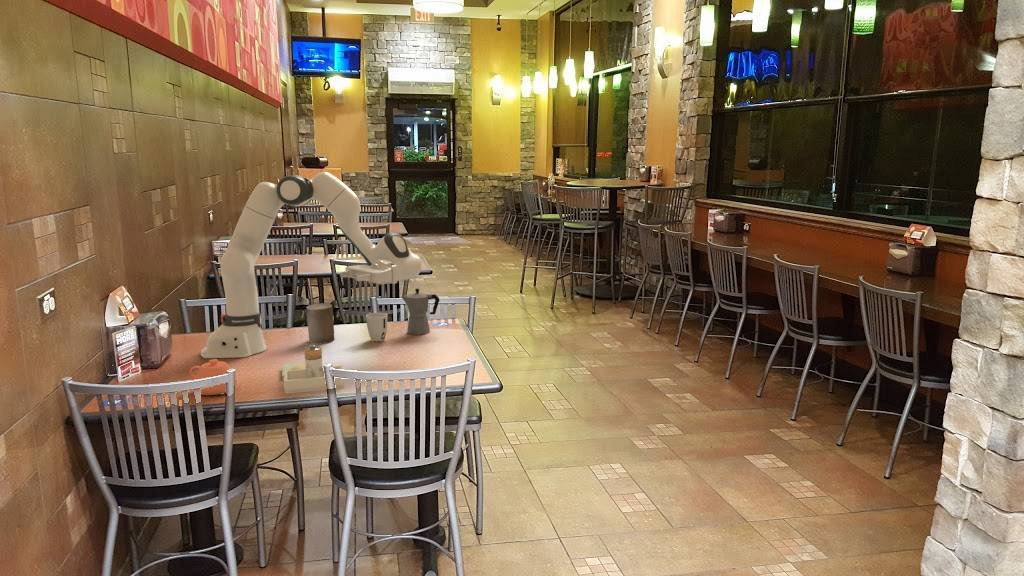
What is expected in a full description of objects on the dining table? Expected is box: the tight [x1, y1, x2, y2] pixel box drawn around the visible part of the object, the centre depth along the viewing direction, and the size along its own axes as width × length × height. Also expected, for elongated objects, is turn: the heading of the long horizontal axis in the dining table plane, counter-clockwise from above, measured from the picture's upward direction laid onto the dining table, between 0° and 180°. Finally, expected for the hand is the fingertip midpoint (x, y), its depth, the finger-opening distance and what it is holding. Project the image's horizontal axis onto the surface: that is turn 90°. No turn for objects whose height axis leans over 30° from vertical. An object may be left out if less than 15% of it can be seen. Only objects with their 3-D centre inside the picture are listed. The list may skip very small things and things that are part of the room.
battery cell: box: [304, 344, 323, 378], centre depth 218 cm, size 5×5×12 cm
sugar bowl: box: [189, 358, 238, 396], centre depth 213 cm, size 12×14×10 cm
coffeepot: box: [400, 288, 440, 336], centre depth 280 cm, size 15×9×18 cm, turn 88°
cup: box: [365, 312, 388, 343], centre depth 269 cm, size 8×8×10 cm
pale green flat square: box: [281, 362, 306, 381], centre depth 231 cm, size 12×12×2 cm
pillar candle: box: [306, 302, 336, 344], centre depth 269 cm, size 10×10×15 cm
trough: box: [283, 365, 345, 394], centre depth 219 cm, size 18×11×4 cm, turn 106°
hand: (348, 276), depth 238 cm, fingers open, 8 cm apart
